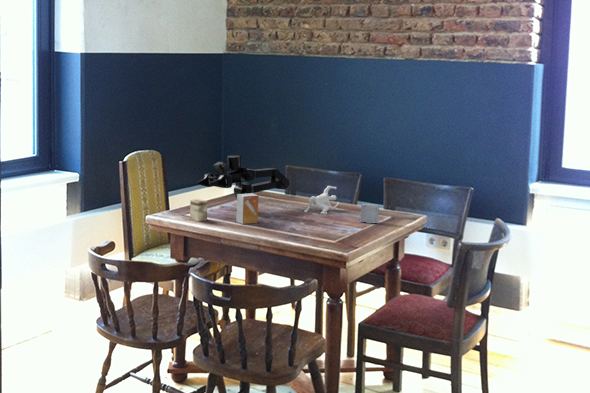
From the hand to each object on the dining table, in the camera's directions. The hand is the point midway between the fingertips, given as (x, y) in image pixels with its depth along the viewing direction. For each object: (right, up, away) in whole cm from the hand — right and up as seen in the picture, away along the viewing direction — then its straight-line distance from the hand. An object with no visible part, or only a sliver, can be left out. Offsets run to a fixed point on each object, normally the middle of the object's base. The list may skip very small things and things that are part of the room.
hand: (203, 183), depth 306 cm
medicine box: (+78, -19, +7) cm, 81 cm away
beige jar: (-2, -17, -1) cm, 17 cm away
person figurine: (+57, -13, +30) cm, 65 cm away
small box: (+21, -18, -3) cm, 27 cm away
